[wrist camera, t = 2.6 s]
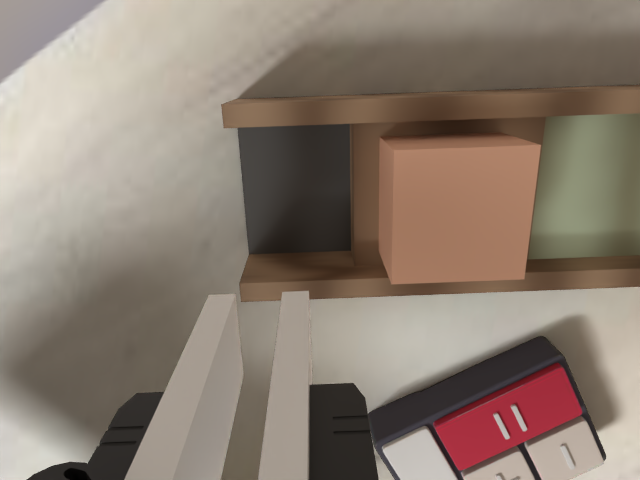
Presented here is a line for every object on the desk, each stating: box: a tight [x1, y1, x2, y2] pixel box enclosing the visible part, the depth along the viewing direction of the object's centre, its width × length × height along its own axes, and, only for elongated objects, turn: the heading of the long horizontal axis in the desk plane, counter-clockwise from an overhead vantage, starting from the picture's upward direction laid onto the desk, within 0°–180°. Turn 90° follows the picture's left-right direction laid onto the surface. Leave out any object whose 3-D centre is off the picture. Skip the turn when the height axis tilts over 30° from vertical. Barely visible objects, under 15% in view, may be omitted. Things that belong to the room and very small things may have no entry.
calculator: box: [368, 336, 606, 480], centre depth 36 cm, size 11×4×15 cm
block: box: [378, 132, 541, 284], centre depth 26 cm, size 7×7×5 cm
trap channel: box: [221, 85, 640, 302], centre depth 29 cm, size 36×11×5 cm, turn 92°
